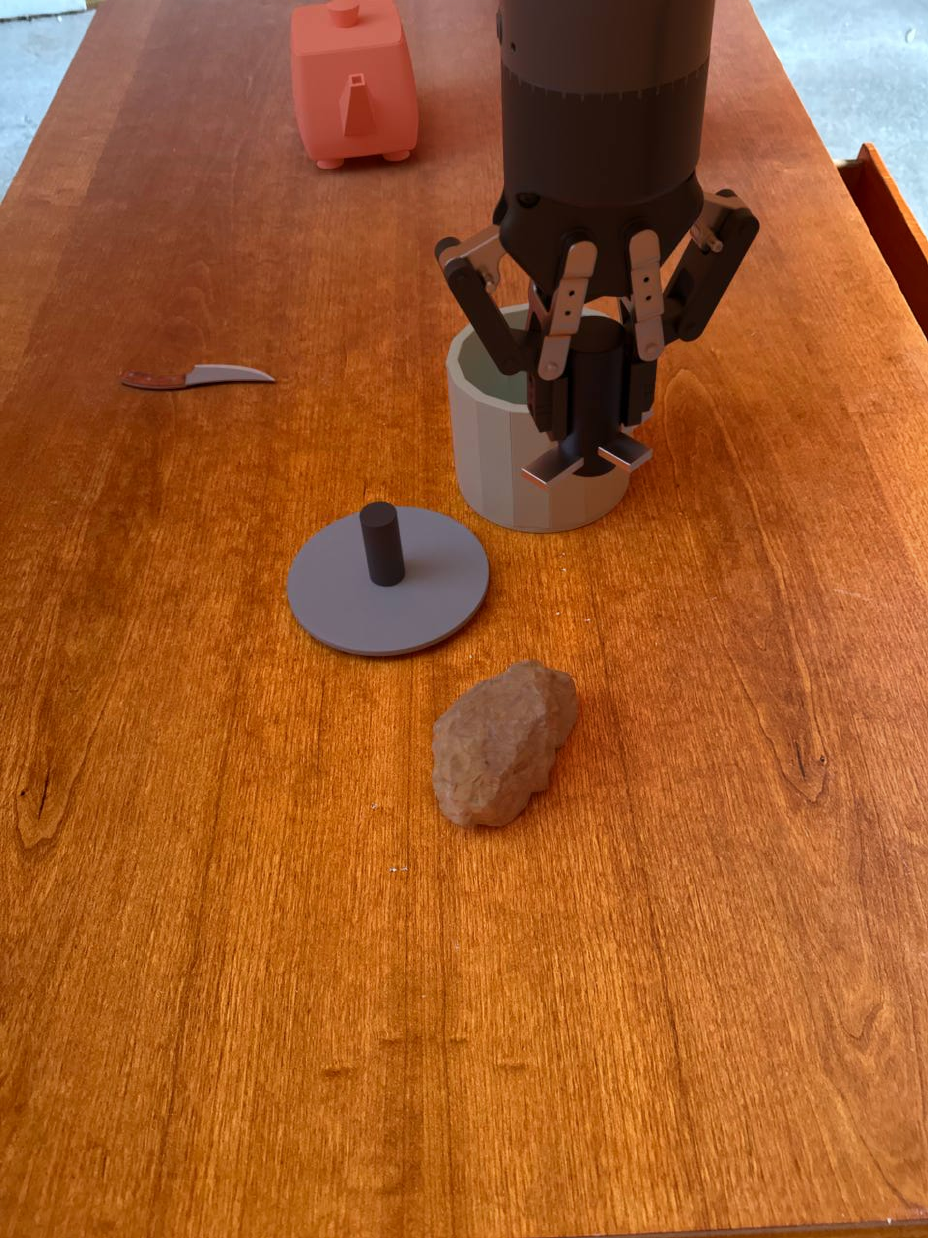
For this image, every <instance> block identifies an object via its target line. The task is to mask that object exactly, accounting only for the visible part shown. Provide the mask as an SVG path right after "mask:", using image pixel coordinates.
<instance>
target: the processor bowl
mask: <svg viewBox="0 0 928 1238" xmlns="http://www.w3.org/2000/svg"><path fill="white" fill-rule="evenodd" d="M498 308H499V307H498ZM499 309H500V311H501V313H502V315H503V316H504V318H505V320H506V322H507V323H508V325H509V327H510V328H514V329H521V330H525V327H526V321H527V315H528V310H529V302H524V303H520V304H519V303H518V304H514V305H509V306H503V307H500V308H499ZM589 315H598V316H605V317H609V318H611V317H610V316H609V315H608V314H607V313H605V312H602V311H600V310H596V309H592V308H589V307H586V306H583V309H582V314H581V317H582V316H589ZM445 367H446V376H447V377H446V378H447V389H448V401H449V413H450V425H451V435H452V447H453V458H454V469H455V476H456V480H457V485H458V488H459V491H460V493H461V496H462V498H463V499H464V501H465V502H466V504H467V506H469V508H471V509H472V511H474V512H475V513H476V514H478V515H479V517H481V518H483V519H485V520H486V521H488V522H490V523H492V524H494V525H497V526H499V527H502V528H504V529H505V528H506V529H508V530H512V531H517V532H521V533H522V532H523V533H532V534H551V533H560V532H566V531H570V530H574V529H578V528H581V527H584V526H587V525H590V524H592V523H593V522H596V521H598V520H600V519H601V518H603V517H604V516H606V515H608V514H609V513H610V512H611V511H612V510H614V509H615V507H616V506H617V505H618V504H619V503H621V501H622V499H623V497H624V496H625V495H626V493H627V490H628V487H629V484H630V478H631V473H629V472H627V471H625V470H623V469H622V468H620V467H618V466H616V467H615V468H614V469H613V470H612V471H610V472H609V473H607V474H604V475H602V476H597V477H580V476H576V475H573V474H570V475H569V476H567V477H566V478H565V479H563V480H562V481H560V482H559V483H558V484H556V485H555V486H553V487H552V488H551V489H549V490H548V491H545V490H543V489H541V488H540V487H538V486H537V485H535V484H533V483H532V482H530V481H529V480H527V479H525V478H524V477H522V468H523V467H525V466H526V465H528V464H529V463H531V462H532V461H533V460H535V459H536V458H538V457H539V456H541V455H542V454H544V453H545V452H546V451H548V450H549V449H551V448H552V447H554V446H555V445H557V441H554V442H551V441H550V440H549V438H548V435H547V433H546V432H542V433H540V432H539V431H538V429H537V427H536V425H535V423H534V421H533V419H532V416H531V415H530V414H529V410H528V408H527V372H525V371H520V372H519V373H517V374H515V375H511V376H507V375H503V374H502V373H501V372H500V371H499V370H498V368H497V366H496V365H495V363H494V361H493V360H492V358H491V356H490V355H489V353H488V351H487V350H486V348H485V346H484V345H483V343H482V341H481V340H480V338H479V337H478V335H477V333H476V332H475V330H474V328H473V327H472V325H471V323H470V322H469V323H468V324H467V325H466V326H465V327H463V329H461V331H459V333H457V335H456V336H454V337H453V339H452V340H451V343H450V346H449V350H448V354H447V357H446V360H445ZM633 433H634V429H633V430H632V431H630V432H629V433H628V434H627V435H629V436H630V437H632V438H634V436H633V435H634V434H633Z"/></svg>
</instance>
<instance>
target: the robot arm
mask: <svg viewBox="0 0 928 1238" xmlns="http://www.w3.org/2000/svg"><path fill="white" fill-rule="evenodd" d="M716 1H717V0H498V6H497V12H496V14H495V19H496V20H495V22H496V23H495V26H496V30H495V31H496V39H497V40H498V43H499V56H500V57H499V59H500V93H501V94H500V97H501V98H500V99H501V130H502V131H501V133H502V135H501V137H502V166H503V167H502V168H503V187H502V191H501V193H500V196H499V199H498V201H497V203H496V205H495V207H494V209H493V212H492V218H491V219H492V220H491V221H492V222H491V223H492V224H491V225H489V226H486V228H484V229H482V230H480V231H479V232H477V233H476V234H474V235H472V236H471V237H469V238H467V239H466V240H464V241H461V240H460V239H459V238H458V237H456V236H455V237H454V236H446V237H443V238H441V239H440V240H438V242H437V243H436V245H435V247H434V249H433V251H434V257H435V260H436V262H437V264H438V267H439V269H440V270H441V274H442V275H443V277H444V280H445V282H446V284H447V286H448V288H449V290H450V292H451V294H452V296H453V297H454V298H455V300H456V302H457V304H458V305H459V307H460V309H461V310H462V312H463V313H464V315H465V317H466V319H467V320H468V322H469V323H471V325H472V327H473V328H474V330H475V332H476V333H477V335H478V337H479V338H480V340H481V341H482V343H483V345H484V346H485V348H486V350H487V351H488V353H489V355H490V356H491V358H492V360H493V361H494V363H495V365H496V366H497V368H498V370H499V371H500V372H501V373H502V374H503V375H507V376H511V375H515V374H517V373H519V372H520V371H525V372H527V408H528V410H529V412H530V414H531V416H532V419H533V421H534V423H535V425H536V427H537V429H538V431H539V432H540V433H542V432H546V433H547V435H548V438H549V440H550V441H551V442H554V441H559V440H564V439H566V438H567V410H568V376H567V374H566V372H565V370H564V369H565V365H566V361H567V356H568V351H569V346H570V342H571V337H572V335H576V334H577V332H578V328H579V323H580V319H581V314H582V309H583V307H584V305H586V304H589V303H591V302H593V301H596V300H598V299H600V298H603V297H607V298H608V297H609V298H616V302H617V303H616V304H617V310H618V316H619V323H621V324H622V325H623V326H624V328H625V329H626V331H627V351H626V367H625V383H624V399H623V414H622V423H623V425H624V426H625V427H630V426H635V425H639V426H641V425H642V424H641V422H642V413H643V412H648V411H650V409H651V407H653V404H654V403H655V396H656V395H655V393H656V382H657V372H658V360H659V357H661V356H662V354H663V352H664V351H665V349H666V347H667V346H668V345H670V344H672V343H674V342H676V341H678V340H681V341H682V342H685V343H690V342H694V341H696V340H697V339H699V338H700V337H701V336H702V335H703V333H704V331H705V329H706V327H707V325H708V324H709V322H710V320H711V319H712V316H713V315H714V313H715V311H716V310H717V308H718V306H719V304H720V302H721V300H722V298H723V296H724V295H725V293H726V291H727V289H728V288H729V286H730V284H731V283H732V280H733V279H734V277H735V275H736V273H737V271H738V269H739V268H740V266H741V264H742V263H743V260H744V259H745V257H746V256H747V254H748V251H749V250H750V248H751V246H752V245H753V242H754V241H755V239H756V238H757V235H758V234H759V231H760V227H761V225H760V221H759V219H758V218H757V217H756V216H755V214H754V213H753V211H752V209H750V208H749V206H748V205H747V204H746V203H745V202H744V200H743V199H742V198H740V196H738V195H737V193H736V192H735V191H734V190H733V189H730V188H723V189H720V190H719V191H717V192H716V193H715V194H714V193H712V192H707V191H704V190H703V188H702V186H701V183H700V181H699V180H698V177H697V170H696V168H697V166H698V164H699V160H700V156H701V145H702V135H703V134H702V133H703V125H704V115H705V105H706V96H707V87H708V86H707V85H708V79H709V70H710V69H709V68H710V59H711V48H712V47H711V46H712V37H713V30H714V19H715V11H716V10H715V9H716ZM688 232H689V236H690V240H689V242H688V243H687V245H686V247H685V249H684V250H683V251H684V252H683V253H682V255H681V257H680V259H679V261H678V263H677V265H676V267H675V269H674V271H673V273H672V275H671V277H670V278H669V280H668V283H667V284H666V285H665V288H664V290H663V286H662V276H661V269H662V267H663V266H664V264H665V263H666V262H667V260H668V259H669V258H670V257H671V255H672V254H673V253H674V252H675V250H676V248H677V247H678V246H679V244H680V243H682V240H683V239H684V237H685V236H686V235H687V234H688ZM506 254H507V255H509V257H510V258H511V259H512V260H513V261H514V262H515V264H517V265H518V266H519V268H520V269H521V270H522V271H523V272H524V273H525V274H526V275H527V276H528V277H529V281H528V286H527V300H528V303H529V310H528V315H527V321H526V327H525V330H521V329H514V328H510V327H509V325H508V323H507V322H506V320H505V318H504V316H503V315H502V313H501V311H500V309H499V306H498V304H497V302H496V301H495V299H494V298H493V296H492V294H494V293H495V292H496V291H497V287H498V285H499V284H500V282H501V273H500V270H499V265H500V262H501V261H502V258H503V257H504V256H506Z"/></svg>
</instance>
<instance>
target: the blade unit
mask: <svg viewBox="0 0 928 1238" xmlns="http://www.w3.org/2000/svg"><path fill="white" fill-rule="evenodd" d="M609 317H610V316H609ZM609 317H605V316H598V315H589V316H582V317H581V319H580V323H579V328H578V332H577V334H576V335H572V337H571V342H570V346H569V351H568V356H567V361H566V365H565V369H564V370H565V372H566V374H567V376H568V410H567V438H566V439H564V440H559V441H557V445H555V446H554V447H552V448H551V449H549V450H548V451H546V452H545V453H544V454H542V455H541V456H539V457H538V458H536V459H535V460H533V461H532V462H531V463H529V464H528V465H526V466H525V467H523V468H522V477H524V478H525V479H527V480H529V481H530V482H532V483H533V484H535V485H537V486H538V487H540V488H541V489H543V490H545V491H548V490H549V489H551V488H552V487H553V486H555V485H556V484H558V483H559V482H560V481H562V480H563V479H565V478H566V477H567V476H569V475H570V474H573V475H576V476H580V477H597V476H602V475H604V474H607V473H609V472H610V471H612V470H613V469H614V468H615V467H616V466H618V467H620V468H622V469H623V470H625V471H627V472H629V473H630V474H631V473H632V472H634V471H635V470H636V469H638V468H639V467H640V466H642V465H643V464H645V463H646V462H647V461H648V460H650V459H651V458H652V457H653V448H651V447H650V446H648V445H646V444H645V443H643V442H641V441H639V440H637V439H635V438H634V437H630V436H629V435H627V434H628V433H629V432H630V431H632V430H633V431H634V430H635V429H636V428H638V427H639V426H640V425H642V424H643V423H645V422H646V421H648V420H649V419H650V418H651V417H653V415H654V409H655V408H654V407H653V406H652V407H651V409H650V411H648V412H643V413H642V422H641V424H640V425H635V426H630V427H625V426H624V425H623V423H622V414H623V399H624V383H625V367H626V351H627V331H626V329H625V328H624V326H623V325H622V324H621V323H620V321H618V320H617V319H615V318H612V317H610V318H609ZM529 414H530V412H529ZM530 415H531V414H530Z"/></svg>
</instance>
